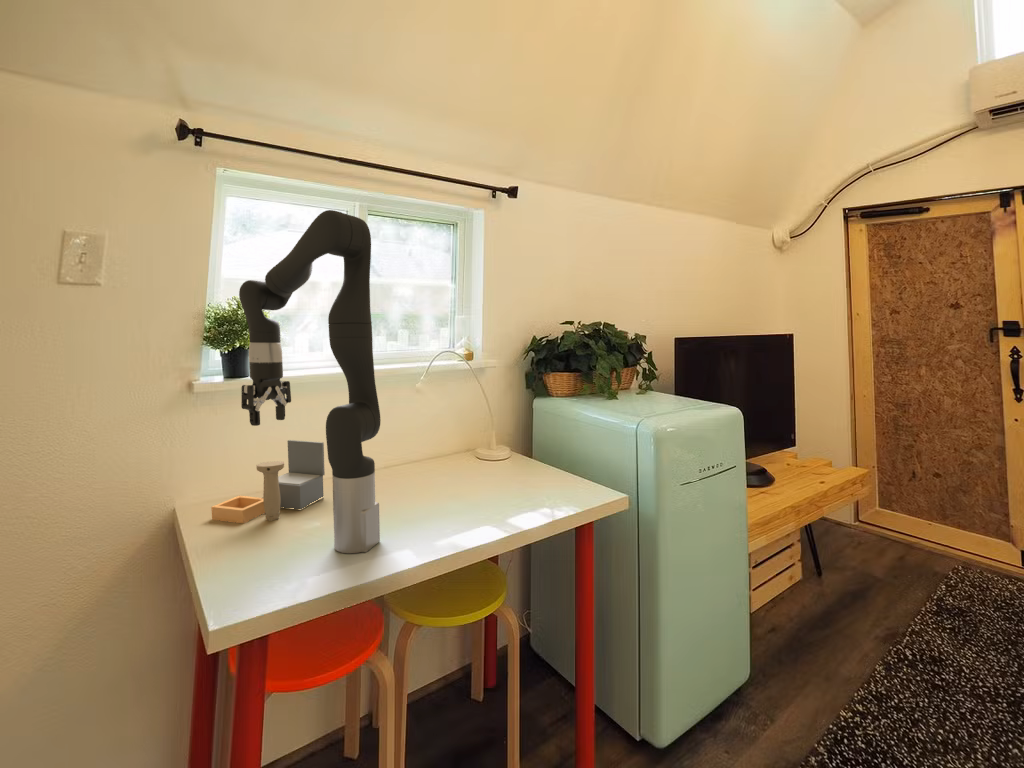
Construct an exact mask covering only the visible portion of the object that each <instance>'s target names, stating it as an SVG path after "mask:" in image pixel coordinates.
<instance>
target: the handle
mask: <svg viewBox="0 0 1024 768" xmlns="http://www.w3.org/2000/svg"><path fill="white" fill-rule="evenodd" d="M284 468H285V462H284V461H281V460H279V461H278V460H277V461H266V462H265V461H264V462H259V463H257V464H256V471H257V472H260V473H262V475H263V492H262V493H263V497H262V498H263V501H264V510H265V513H264V514H265V515H264V516H265V520H266V521H270V522H272V521H275V520H278V519H279V518H280V515H281V512H280V511H281V508H280V503H281V502H280V489H279V480H278V477H279V472H280V471H281V470H282V469H284Z"/></svg>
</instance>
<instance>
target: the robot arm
mask: <svg viewBox="0 0 1024 768" xmlns="http://www.w3.org/2000/svg"><path fill="white" fill-rule="evenodd" d="M327 254H329V255H331V256H337V257H341V258H343V265H344V267H343V268H344V269H343V273H344V274H343V282H342V285H341V288H340V290H339V291H338V293H337V295H336V297H335V299H334V301H333V303H332V305H331V307H330V311H329V312H328V317H327V318H328V319H327V321H328V322H327V324H328V338H329V346H330V349H331V352H332V354H333V356H334V358H335V360H336V362H337V363H338V366H339V367H340V369H341V371H342V372H343V374H344V377H345V380H346V383H347V388H348V389H347V390H348V403H347V404H342V405H337V406H335V407H333V408H332V409H331V410H330V411H329V412H328V414H327V416H326V421H325V439H326V450H327V459H328V463H329V465H330V467H331V473H332V504H333V505H332V507H333V535H334V536H333V537H334V538H333V539H334V540H333V542H334V543H333V544H334V549H335V551H336V552H339V553H342V554H357V553H367V552H369V551H370V550H371V549H372V548H373V547H375V546H376V545H377V544H378V543H379V542H380V541H381V535H380V534H381V533H380V532H381V529H380V528H381V527H380V526H381V523H380V503H379V502H377V501H376V468H375V467H376V466H375V465H376V463H375V460H374V459H373V458H372V457H370V456H365V455H364V453H363V445H362V443H364V442H366V441H369V440H372V439H374V438H375V437H376V436H377V434H378V433H379V431H380V428H381V411H380V405H379V399H378V393H377V386H376V376H375V364H374V351H373V327H372V325H373V324H372V322H373V321H372V313H371V290H370V287H371V286H370V285H371V282H370V281H371V277H370V275H371V260H372V259H371V258H372V236H371V232H370V228H369V225H368V224H367V223H366V221H365V220H363V219H362V218H360V217H358V216H354V215H351V214H348V213H344V212H341V211H337V210H333V209H328V210H325V211H322V212H321V213H320V214H318V215H317V216H316V218H315V219H313V221H312V222H311V223H310V224H309V226H308V228H306V230H305V232H304V233H303V234H302V236H301V237H300V239H298V241H297V243H296V244H295V245H294V246H293V248H292V249H291V250H290V251H289V253H288V254H287V255H286V256H285V257H283V259H281V261H279V262H278V263H277V264H276V265H274V266H273V267H272V268H271V269H269V270H268V272H267V273H266V275H265V277H264V281H261V280H260V281H259V280H252V279H251V280H246V281H244V282H243V283H242V284H241V286H240V287H239V291H238V293H239V294H238V296H239V297H238V298H239V301H240V305H241V307H242V310H243V313H244V315H245V319H246V321H247V325H248V335H249V336H248V337H249V338H248V339H249V348H248V360H249V361H248V363H249V366H248V367H249V378H250V380H252V384H242V385H241V409H242V410H247V411H248V413H249V423H250V425H251V426H252V427H253V426H254V427H255V426H260V425H261V411H260V409H261V407H262V405H263V404H264V403H265V402H266V401H268V400H272V401H273V402H274V404H275V420H277V421H284V420H285V418H286V406H287V404H288V403H291V402H292V393H291V383H290V380H281V379H283V377H284V369H283V368H284V367H283V350H282V342H281V341H282V340H281V324H280V322H279V321H277V320H274V319H272V318H268V317H266V315H265V314H264V311H263V310H265V311H279V310H281V309H283V308H284V307H286V305H287V304H288V301H290V298H291V297H292V295H293V293H294V292H296V291H297V290H298V289H300V288H301V287H302V286H304V285H305V284H306V283H307V282H308V281H309V279H310V277H311V275H312V273H313V264H314V262H315V261H316V260H318V259H319V258H320V257H321V258H322V257H323V256H325V255H327Z"/></svg>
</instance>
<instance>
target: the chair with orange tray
mask: <svg viewBox="0 0 1024 768" xmlns="http://www.w3.org/2000/svg"><path fill="white" fill-rule="evenodd" d="M324 446H325V443H324V442H323V441H322V442H320V441H310V440H309V441H306V440H294V439H289V440H287V462H288V472H287V473H283V474H281V475H278V480H279V489H280V502H281V503H280V507H284V508H294V509H302V508H304V507H306V506H307V505H309V504H310V503H312V502H314V501H316V500H318V499H319V498H321V497H323V496H324V476H325V449H324V448H325V447H324ZM210 508H211V519H212V521H219V520H220V521H222V522H227V521H228V522H230V523H235V522H236V524H246V523H247V522H249V520H250V521H251V519H252V520H254V519H256V518H258V517H260V516H262V515H264V514H265V510H264V501H263V497H257V496H249V495H248V496H247V495H237V496H235V497H232V498H229V499H227V500H225V501H223V502H222V501H221V502H220V503H218V504H215V505H212V506H211V507H210ZM284 508H283V509H284ZM306 508H307V507H306ZM304 509H305V508H304ZM302 510H303V509H302ZM263 513H264V514H263ZM261 514H262V515H261ZM259 515H260V516H259ZM257 516H258V517H257ZM253 518H254V519H253ZM228 522H227V523H228Z"/></svg>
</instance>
